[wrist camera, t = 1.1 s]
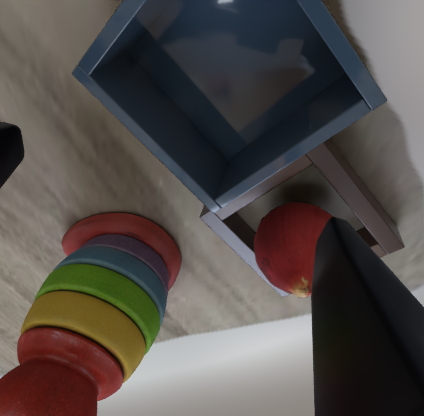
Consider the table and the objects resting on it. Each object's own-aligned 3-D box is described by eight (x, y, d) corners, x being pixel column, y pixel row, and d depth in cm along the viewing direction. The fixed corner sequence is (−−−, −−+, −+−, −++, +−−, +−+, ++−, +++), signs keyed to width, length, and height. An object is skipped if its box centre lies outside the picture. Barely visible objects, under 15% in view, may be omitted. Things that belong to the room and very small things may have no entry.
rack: (282, 277, 29) (282, 297, 27) (205, 200, 26) (199, 217, 24) (397, 227, 24) (405, 247, 22) (317, 123, 21) (319, 137, 19)
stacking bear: (59, 236, 32) (-130, 451, 18) (122, 185, 27) (-73, 431, 12) (140, 302, 35) (38, 525, 21) (209, 268, 30) (136, 533, 16)
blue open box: (228, 169, 24) (213, 214, 19) (117, 51, 21) (70, 73, 16) (365, 69, 18) (388, 101, 14) (246, -112, 15) (226, -145, 11)
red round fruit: (301, 253, 27) (303, 341, 21) (243, 217, 26) (227, 297, 20) (356, 209, 24) (379, 297, 17) (292, 165, 23) (291, 242, 16)
